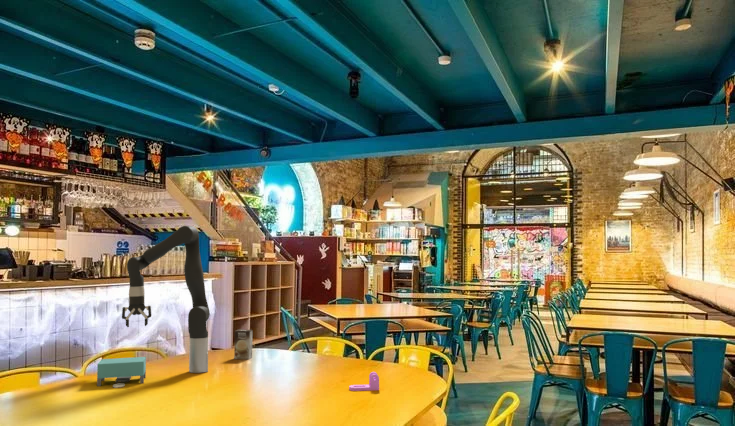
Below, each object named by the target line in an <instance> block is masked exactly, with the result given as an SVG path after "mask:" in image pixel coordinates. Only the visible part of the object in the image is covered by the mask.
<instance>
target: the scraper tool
mask: <svg viewBox="0 0 735 426" xmlns="http://www.w3.org/2000/svg"><path fill="white" fill-rule="evenodd" d="M131 379H132V376H129V377H116V379H115V384H117V383H129V382H130V381H131Z"/></svg>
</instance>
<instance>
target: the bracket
mask: <svg viewBox="0 0 735 426" xmlns="http://www.w3.org/2000/svg"><path fill="white" fill-rule="evenodd" d="M368 379H369V381H368V382H369V383H368V384H351V385H349V389H348V390H349V391H351V392H353V391H354V392H361V391H379V390H380V376H379V374H378V373H377V372H376V371H372V372H370V373H369V376H368Z"/></svg>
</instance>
